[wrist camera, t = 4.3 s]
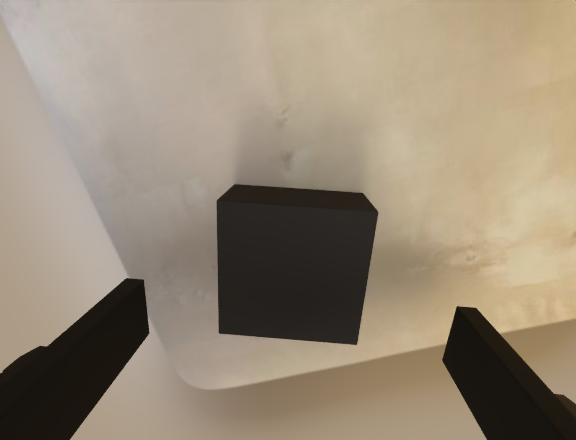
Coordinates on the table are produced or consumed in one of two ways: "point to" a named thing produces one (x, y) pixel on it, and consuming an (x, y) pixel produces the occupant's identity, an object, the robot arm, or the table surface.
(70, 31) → the table surface
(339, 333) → the foam pad
